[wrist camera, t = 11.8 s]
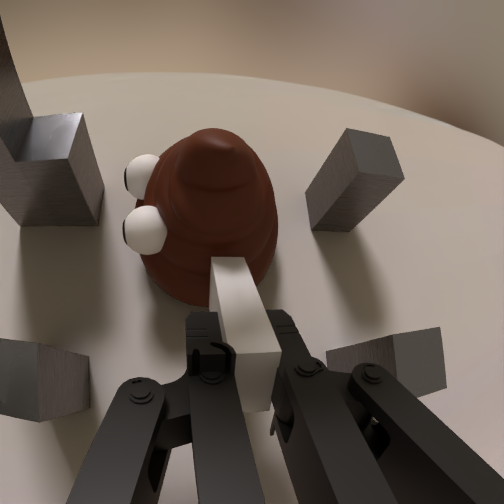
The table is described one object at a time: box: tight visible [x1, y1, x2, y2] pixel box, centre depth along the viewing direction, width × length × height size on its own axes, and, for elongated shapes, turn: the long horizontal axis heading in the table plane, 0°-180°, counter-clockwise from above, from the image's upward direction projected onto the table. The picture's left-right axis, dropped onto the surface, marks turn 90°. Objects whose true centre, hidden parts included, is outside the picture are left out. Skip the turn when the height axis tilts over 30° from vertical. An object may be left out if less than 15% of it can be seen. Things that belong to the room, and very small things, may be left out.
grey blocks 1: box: [15, 112, 405, 232], centre depth 18 cm, size 3×20×7 cm, turn 94°
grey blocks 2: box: [0, 327, 447, 422], centre depth 14 cm, size 3×20×7 cm, turn 94°
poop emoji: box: [123, 128, 278, 307], centre depth 16 cm, size 10×8×9 cm
